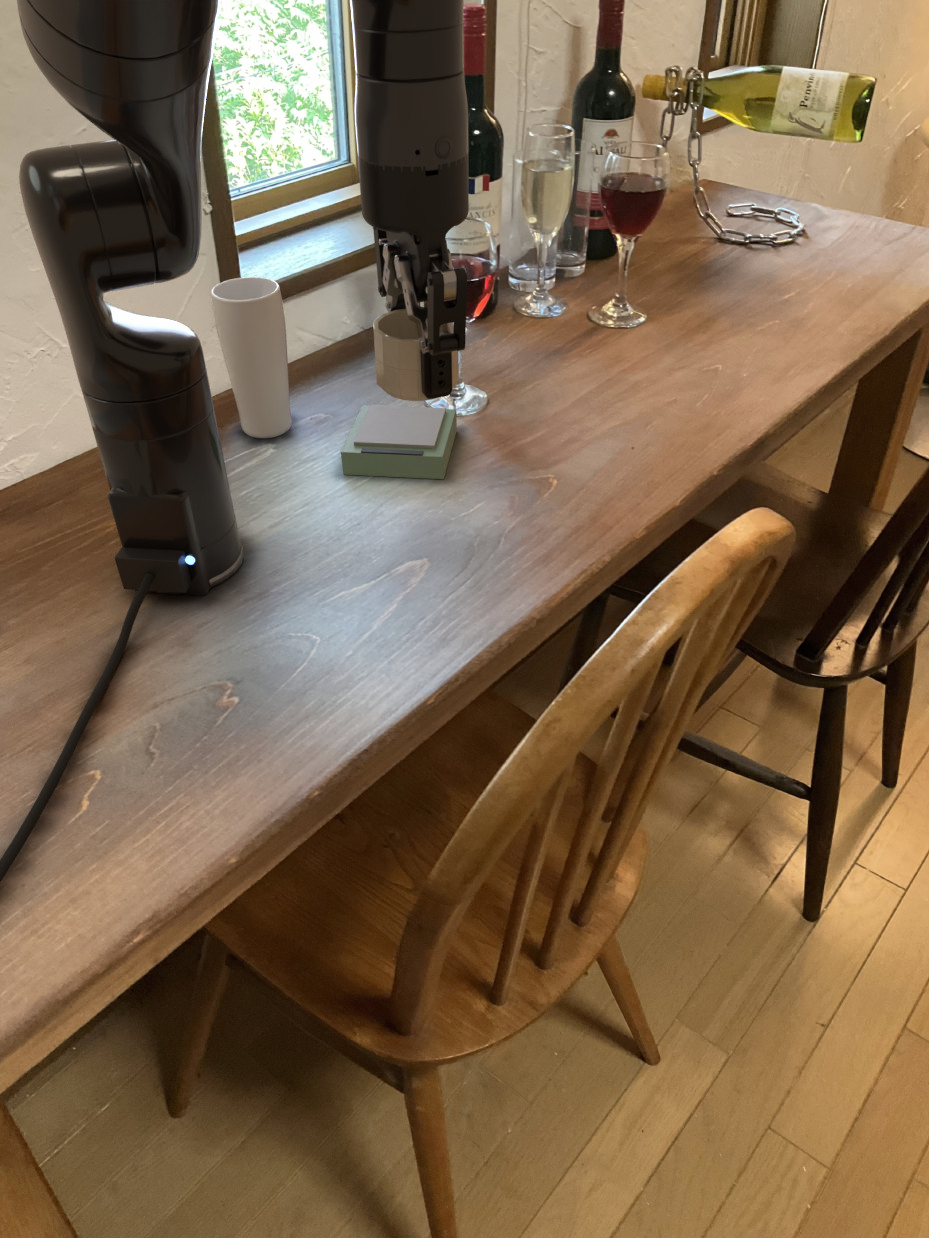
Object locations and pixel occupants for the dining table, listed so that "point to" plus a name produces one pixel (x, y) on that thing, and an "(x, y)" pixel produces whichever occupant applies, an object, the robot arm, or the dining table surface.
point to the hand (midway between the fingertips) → (421, 375)
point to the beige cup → (402, 356)
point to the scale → (400, 442)
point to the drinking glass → (255, 352)
